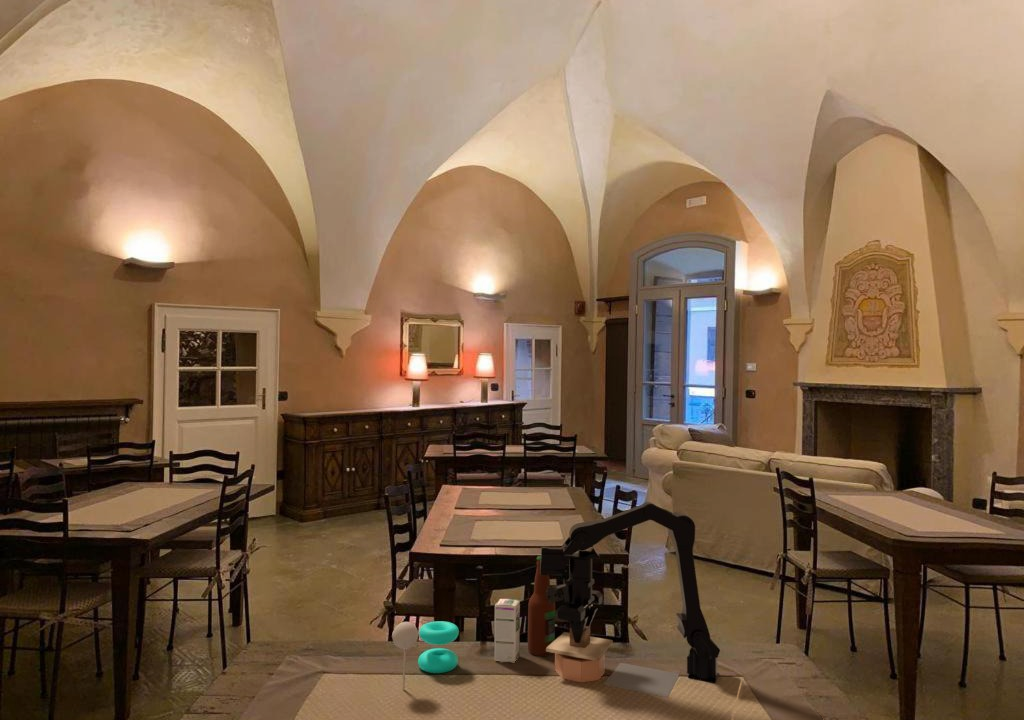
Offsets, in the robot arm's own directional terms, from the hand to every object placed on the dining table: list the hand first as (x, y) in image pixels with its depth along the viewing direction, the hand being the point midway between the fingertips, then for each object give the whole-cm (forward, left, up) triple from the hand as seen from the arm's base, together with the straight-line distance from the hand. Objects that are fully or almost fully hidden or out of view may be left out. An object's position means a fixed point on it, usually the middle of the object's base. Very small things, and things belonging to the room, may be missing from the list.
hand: (580, 640), depth 157 cm
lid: (0, 0, -2) cm, 2 cm away
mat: (-15, -3, -8) cm, 17 cm away
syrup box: (+20, 0, -8) cm, 22 cm away
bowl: (0, 0, -8) cm, 8 cm away
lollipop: (+33, +28, -8) cm, 44 cm away
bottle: (+14, -9, -8) cm, 19 cm away
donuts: (+33, +13, -8) cm, 36 cm away
